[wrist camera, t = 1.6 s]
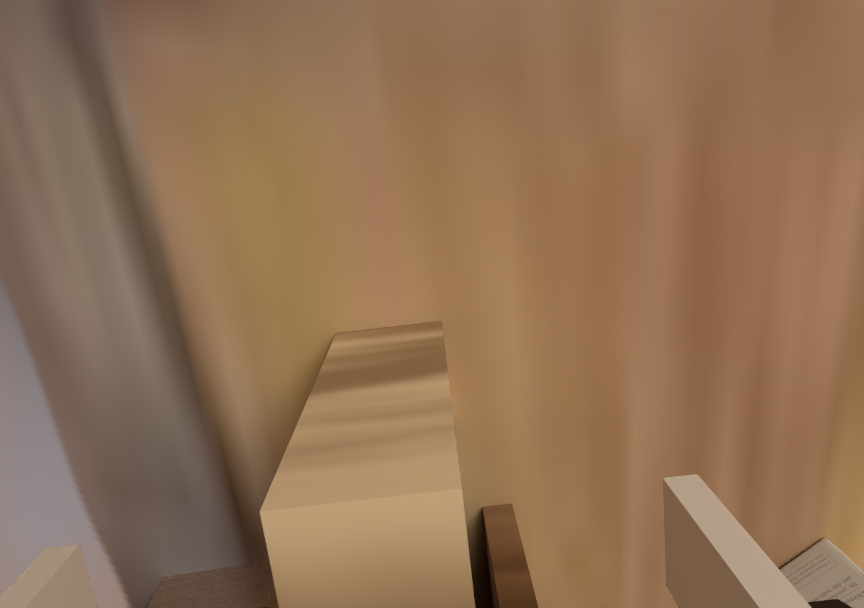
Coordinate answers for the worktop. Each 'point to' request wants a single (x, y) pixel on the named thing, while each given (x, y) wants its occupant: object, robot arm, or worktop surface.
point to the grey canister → (826, 575)
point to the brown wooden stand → (507, 560)
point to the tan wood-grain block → (372, 482)
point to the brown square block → (219, 588)
